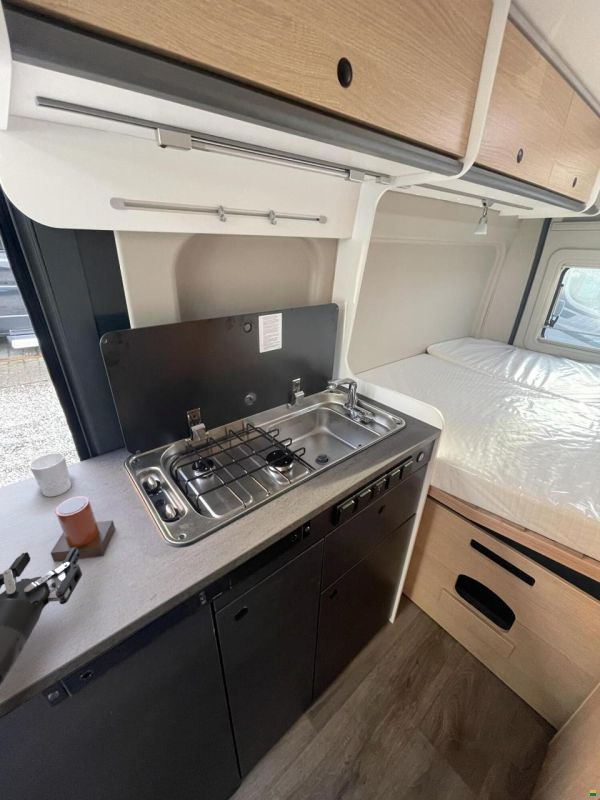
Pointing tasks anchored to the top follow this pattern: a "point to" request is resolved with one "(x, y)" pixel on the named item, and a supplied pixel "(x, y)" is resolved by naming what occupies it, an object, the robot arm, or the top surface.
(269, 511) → the top surface
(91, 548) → the walnut block
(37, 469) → the white cup
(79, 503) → the canister
